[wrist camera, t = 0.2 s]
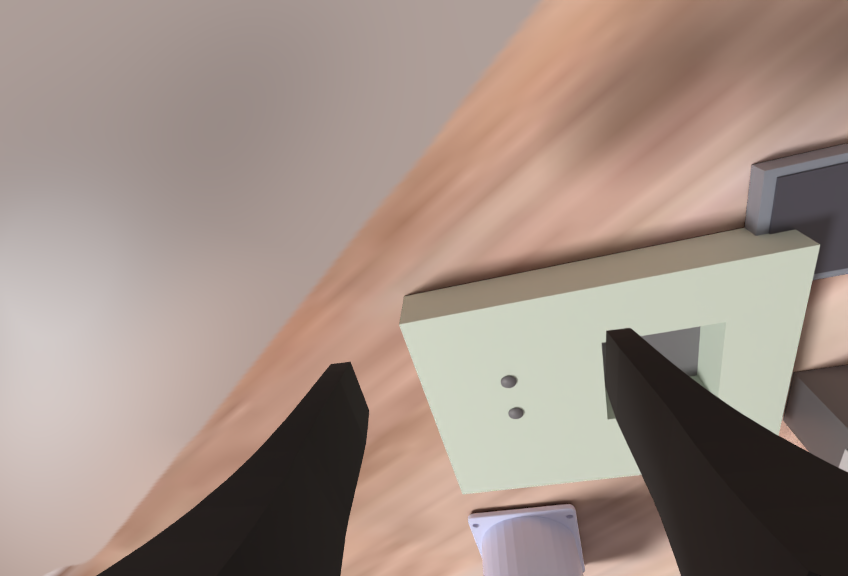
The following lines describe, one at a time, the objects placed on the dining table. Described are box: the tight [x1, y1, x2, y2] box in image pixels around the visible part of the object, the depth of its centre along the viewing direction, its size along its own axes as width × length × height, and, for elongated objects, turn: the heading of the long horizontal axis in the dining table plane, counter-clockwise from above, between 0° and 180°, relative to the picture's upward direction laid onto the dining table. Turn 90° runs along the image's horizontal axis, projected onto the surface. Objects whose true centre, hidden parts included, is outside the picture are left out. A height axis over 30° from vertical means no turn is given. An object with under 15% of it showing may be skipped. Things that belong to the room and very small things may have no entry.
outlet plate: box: [399, 228, 820, 494], centre depth 24 cm, size 14×18×3 cm
